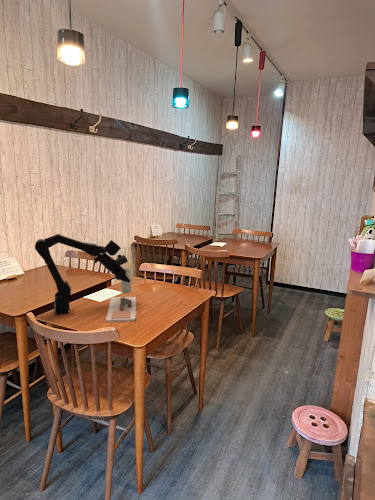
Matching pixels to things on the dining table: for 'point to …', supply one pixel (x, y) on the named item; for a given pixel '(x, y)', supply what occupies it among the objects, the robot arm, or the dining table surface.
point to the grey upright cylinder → (126, 285)
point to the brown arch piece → (125, 303)
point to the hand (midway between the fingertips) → (128, 280)
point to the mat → (120, 314)
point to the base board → (115, 306)
